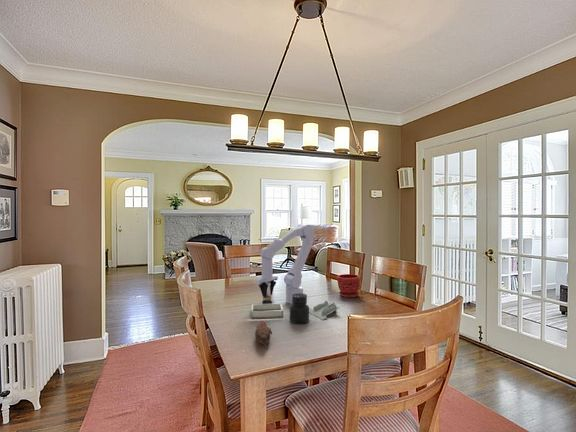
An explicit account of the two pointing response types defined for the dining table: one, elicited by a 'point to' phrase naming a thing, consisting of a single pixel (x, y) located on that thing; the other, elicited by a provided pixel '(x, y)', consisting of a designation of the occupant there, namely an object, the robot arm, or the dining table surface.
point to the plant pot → (348, 285)
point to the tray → (267, 313)
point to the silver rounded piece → (268, 297)
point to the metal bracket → (323, 310)
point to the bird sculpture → (263, 333)
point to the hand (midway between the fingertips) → (267, 295)
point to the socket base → (267, 302)
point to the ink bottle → (299, 309)
